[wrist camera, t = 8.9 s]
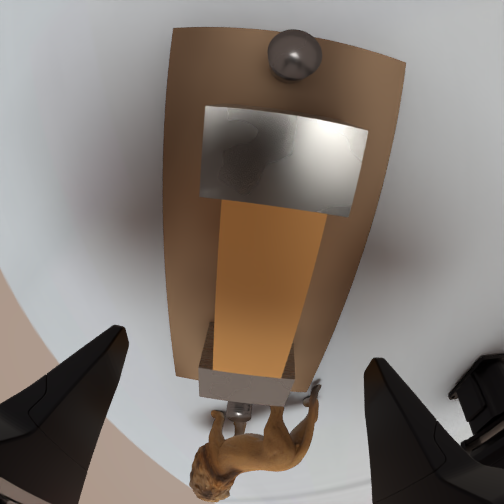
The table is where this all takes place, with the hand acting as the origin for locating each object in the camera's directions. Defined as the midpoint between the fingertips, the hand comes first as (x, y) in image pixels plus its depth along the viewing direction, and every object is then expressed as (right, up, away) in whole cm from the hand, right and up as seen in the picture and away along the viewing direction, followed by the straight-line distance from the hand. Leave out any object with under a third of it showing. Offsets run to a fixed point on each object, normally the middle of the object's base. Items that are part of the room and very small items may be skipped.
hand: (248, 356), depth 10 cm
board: (+1, +3, +6) cm, 7 cm away
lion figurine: (0, -11, +15) cm, 19 cm away
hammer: (+1, +3, +5) cm, 6 cm away
